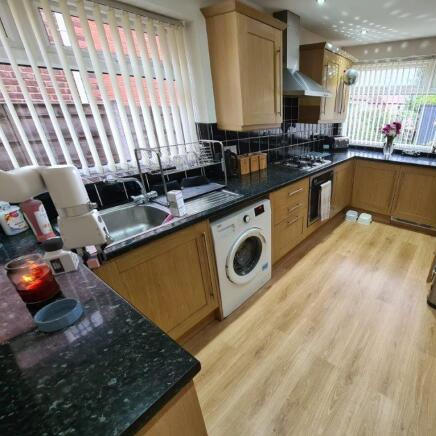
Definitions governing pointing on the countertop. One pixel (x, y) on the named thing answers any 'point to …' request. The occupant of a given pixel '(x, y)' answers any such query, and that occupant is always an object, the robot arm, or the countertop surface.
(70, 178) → the robot arm
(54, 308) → the bowl
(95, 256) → the eraser
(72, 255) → the container
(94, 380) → the countertop surface
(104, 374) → the countertop surface
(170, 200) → the syrup box
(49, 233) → the liquor
